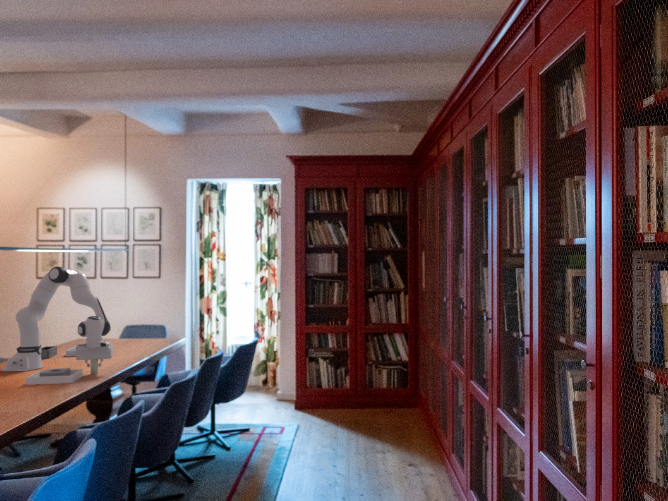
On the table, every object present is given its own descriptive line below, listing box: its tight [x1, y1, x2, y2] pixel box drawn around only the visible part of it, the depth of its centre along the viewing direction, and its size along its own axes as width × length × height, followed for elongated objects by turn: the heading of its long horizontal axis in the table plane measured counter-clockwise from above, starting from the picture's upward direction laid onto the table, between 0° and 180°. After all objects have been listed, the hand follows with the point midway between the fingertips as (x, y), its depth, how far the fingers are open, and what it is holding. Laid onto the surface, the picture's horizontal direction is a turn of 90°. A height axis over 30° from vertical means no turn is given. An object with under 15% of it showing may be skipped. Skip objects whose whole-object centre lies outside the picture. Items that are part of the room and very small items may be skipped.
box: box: [25, 367, 84, 386], centre depth 299 cm, size 24×18×6 cm
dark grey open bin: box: [41, 345, 58, 360], centre depth 374 cm, size 8×16×6 cm, turn 9°
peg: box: [90, 359, 99, 376], centre depth 315 cm, size 4×4×9 cm
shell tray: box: [65, 344, 114, 357], centre depth 386 cm, size 27×21×4 cm
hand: (94, 366), depth 315 cm, fingers open, 5 cm apart
